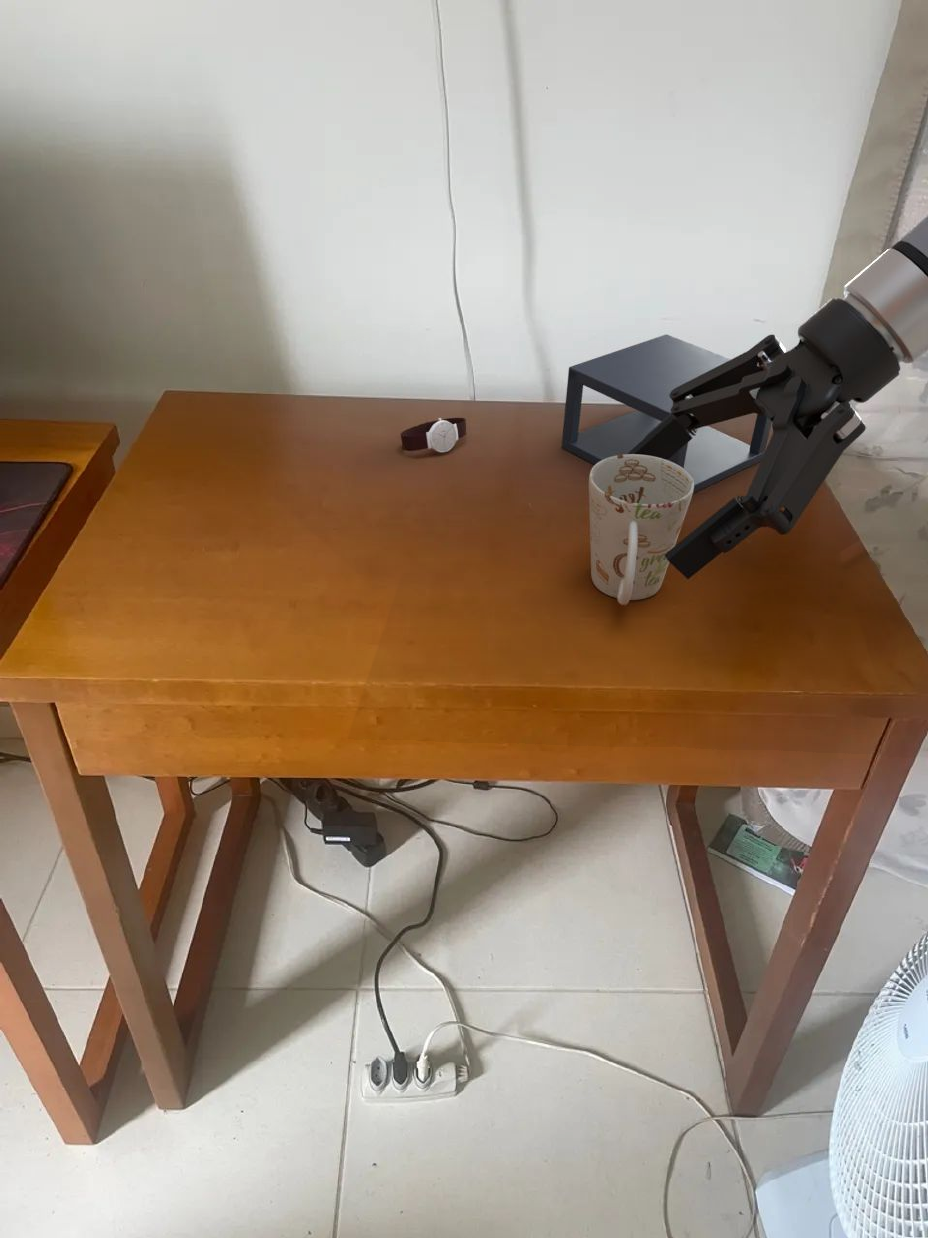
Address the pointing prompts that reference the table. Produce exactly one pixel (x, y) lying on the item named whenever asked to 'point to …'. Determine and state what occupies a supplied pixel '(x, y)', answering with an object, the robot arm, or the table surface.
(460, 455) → the table surface
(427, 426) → the watch
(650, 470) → the mug
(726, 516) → the robot arm
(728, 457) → the shelf
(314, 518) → the table surface
